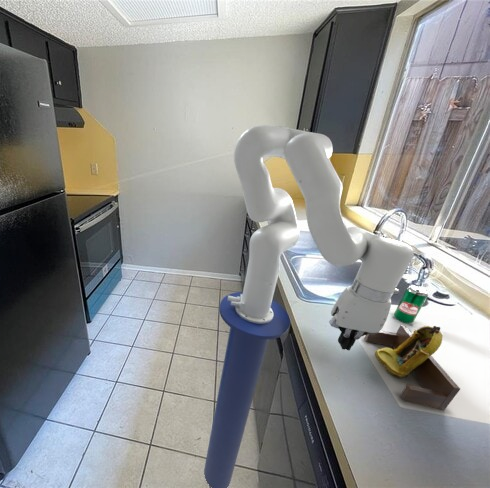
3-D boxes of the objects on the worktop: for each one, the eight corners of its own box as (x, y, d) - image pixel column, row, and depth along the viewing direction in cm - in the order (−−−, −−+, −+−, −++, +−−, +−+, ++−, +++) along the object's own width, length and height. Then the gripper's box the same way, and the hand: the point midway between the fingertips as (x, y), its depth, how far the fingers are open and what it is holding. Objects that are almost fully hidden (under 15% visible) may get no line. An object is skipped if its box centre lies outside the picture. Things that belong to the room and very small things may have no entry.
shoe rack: (402, 400, 59) (416, 379, 56) (363, 338, 77) (372, 320, 74) (444, 410, 57) (460, 389, 54) (395, 344, 75) (405, 325, 72)
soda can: (391, 318, 86) (406, 288, 81) (394, 312, 89) (409, 282, 84) (411, 326, 82) (428, 295, 77) (413, 319, 86) (430, 289, 81)
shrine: (437, 377, 64) (447, 321, 61) (430, 393, 59) (441, 334, 56) (378, 355, 73) (385, 306, 70) (369, 367, 68) (375, 315, 65)
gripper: (398, 286, 63) (368, 341, 71) (331, 275, 66) (309, 330, 74) (417, 305, 56) (382, 364, 64) (342, 292, 59) (317, 350, 67)
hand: (343, 345), depth 69 cm, fingers closed
